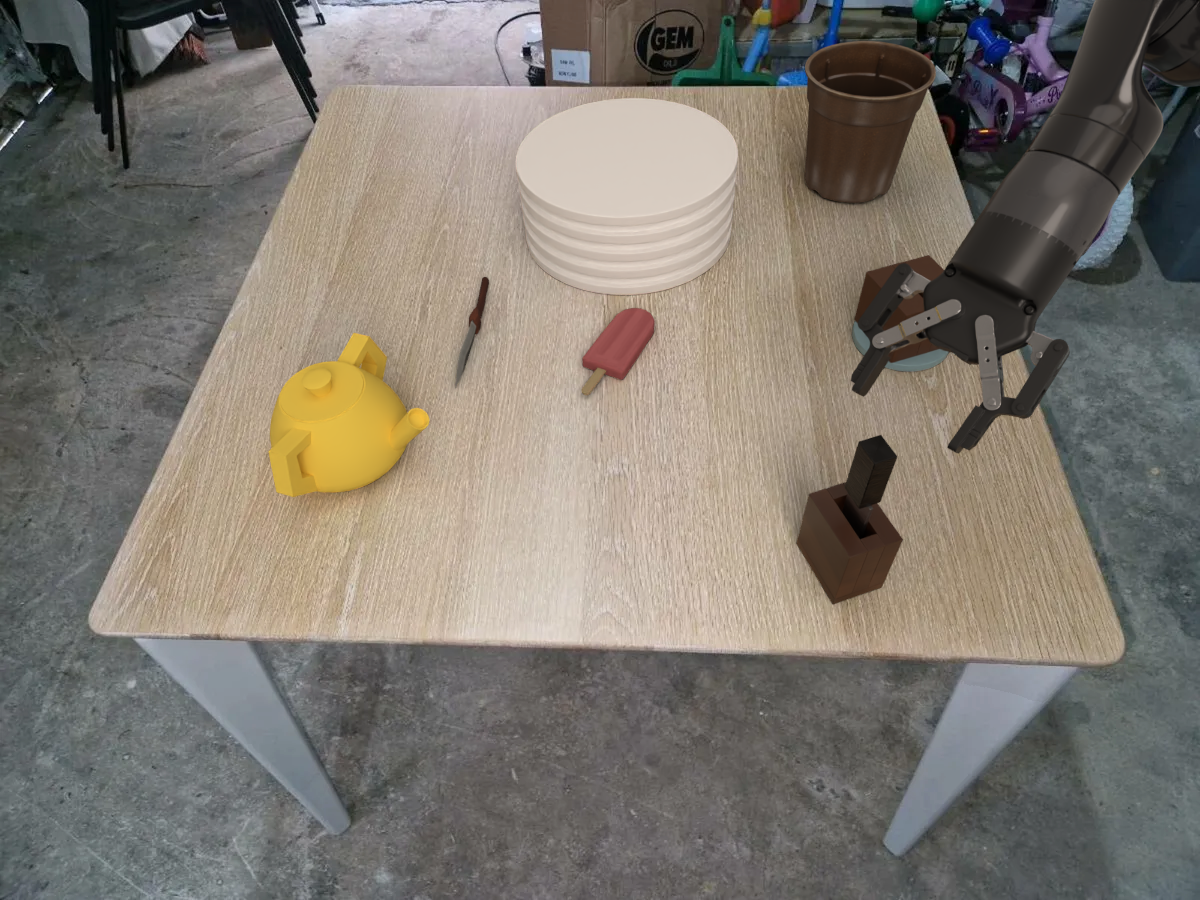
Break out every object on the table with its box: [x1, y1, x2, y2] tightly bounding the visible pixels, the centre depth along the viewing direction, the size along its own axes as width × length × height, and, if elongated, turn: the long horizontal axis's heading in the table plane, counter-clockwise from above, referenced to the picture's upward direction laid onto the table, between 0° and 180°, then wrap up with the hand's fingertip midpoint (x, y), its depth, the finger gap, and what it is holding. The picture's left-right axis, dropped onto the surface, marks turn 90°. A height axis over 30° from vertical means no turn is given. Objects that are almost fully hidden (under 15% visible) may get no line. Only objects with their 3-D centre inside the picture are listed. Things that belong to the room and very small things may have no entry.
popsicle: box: [580, 307, 656, 396], centre depth 93 cm, size 5×2×15 cm
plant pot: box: [804, 40, 937, 204], centre depth 108 cm, size 16×16×16 cm
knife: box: [454, 276, 490, 389], centre depth 95 cm, size 18×2×3 cm, turn 173°
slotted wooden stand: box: [851, 254, 950, 373], centre depth 90 cm, size 11×11×8 cm
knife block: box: [795, 481, 904, 605], centre depth 71 cm, size 5×7×8 cm
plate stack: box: [515, 97, 739, 296], centre depth 105 cm, size 28×28×12 cm
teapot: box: [267, 332, 430, 498], centre depth 81 cm, size 20×18×11 cm
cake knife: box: [842, 434, 898, 539], centre depth 67 cm, size 2×3×16 cm, turn 19°
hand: (903, 421), depth 62 cm, fingers open, 8 cm apart
